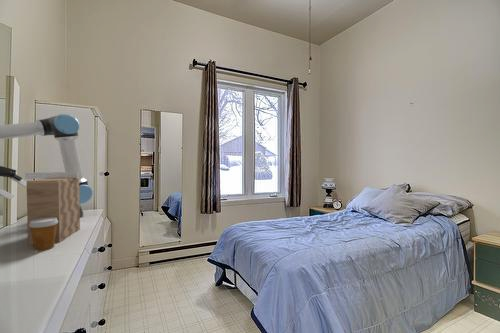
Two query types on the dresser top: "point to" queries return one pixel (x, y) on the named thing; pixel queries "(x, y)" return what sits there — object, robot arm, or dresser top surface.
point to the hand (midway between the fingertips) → (19, 191)
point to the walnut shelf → (54, 205)
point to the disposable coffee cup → (43, 233)
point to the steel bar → (51, 175)
